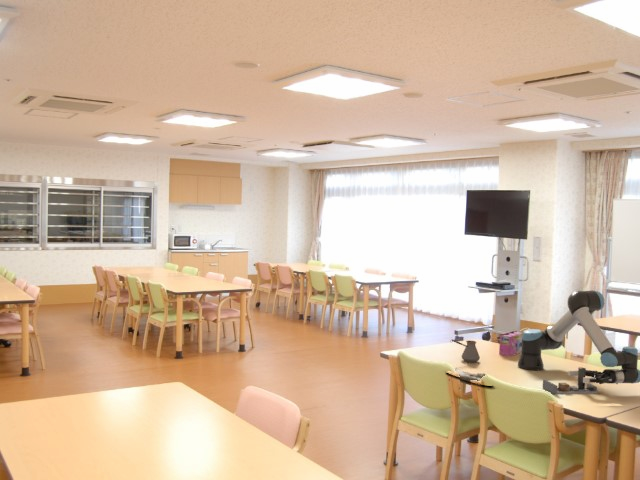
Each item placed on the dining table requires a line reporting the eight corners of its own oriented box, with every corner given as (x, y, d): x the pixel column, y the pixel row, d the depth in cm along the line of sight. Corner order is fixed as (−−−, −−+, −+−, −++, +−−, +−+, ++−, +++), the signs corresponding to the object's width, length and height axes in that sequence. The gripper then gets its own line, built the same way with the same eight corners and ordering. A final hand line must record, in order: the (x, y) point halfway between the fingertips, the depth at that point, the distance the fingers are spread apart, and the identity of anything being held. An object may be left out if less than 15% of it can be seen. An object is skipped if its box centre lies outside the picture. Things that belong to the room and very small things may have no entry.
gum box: (514, 349, 422) (515, 330, 421) (525, 351, 416) (526, 332, 416) (498, 354, 404) (499, 334, 404) (509, 356, 399) (510, 336, 398)
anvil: (553, 394, 310) (553, 385, 310) (542, 388, 321) (542, 380, 321) (556, 394, 310) (557, 385, 310) (546, 388, 321) (546, 380, 321)
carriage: (573, 391, 315) (574, 369, 314) (568, 389, 320) (569, 367, 319) (588, 391, 316) (590, 369, 316) (583, 388, 321) (584, 366, 320)
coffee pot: (472, 358, 389) (473, 336, 389) (483, 362, 379) (484, 339, 378) (444, 360, 381) (445, 337, 381) (455, 365, 371) (456, 341, 370)
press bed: (553, 396, 310) (553, 388, 310) (542, 390, 321) (542, 382, 321) (599, 396, 314) (599, 388, 314) (586, 389, 325) (587, 382, 324)
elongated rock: (453, 373, 356) (441, 376, 351) (452, 365, 356) (440, 367, 350) (499, 385, 326) (486, 389, 321) (499, 376, 326) (486, 379, 321)
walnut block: (562, 392, 314) (562, 384, 314) (558, 390, 318) (558, 382, 318) (569, 392, 315) (569, 384, 315) (565, 389, 319) (565, 382, 319)
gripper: (627, 389, 308) (589, 390, 305) (598, 376, 333) (562, 377, 330) (628, 375, 308) (590, 376, 305) (598, 363, 333) (563, 363, 329)
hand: (575, 376), depth 317 cm, fingers open, 13 cm apart
